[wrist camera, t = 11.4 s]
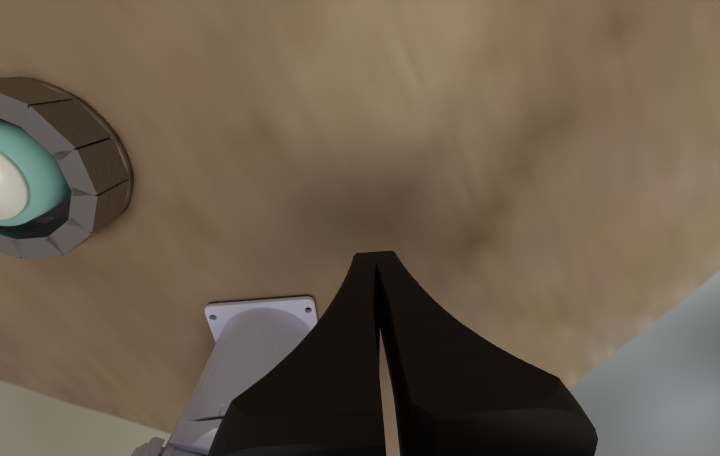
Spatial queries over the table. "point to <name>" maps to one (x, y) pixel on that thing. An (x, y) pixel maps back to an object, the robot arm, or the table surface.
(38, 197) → the cap
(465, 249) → the table surface
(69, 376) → the table surface
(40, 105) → the faceted ring bowl
